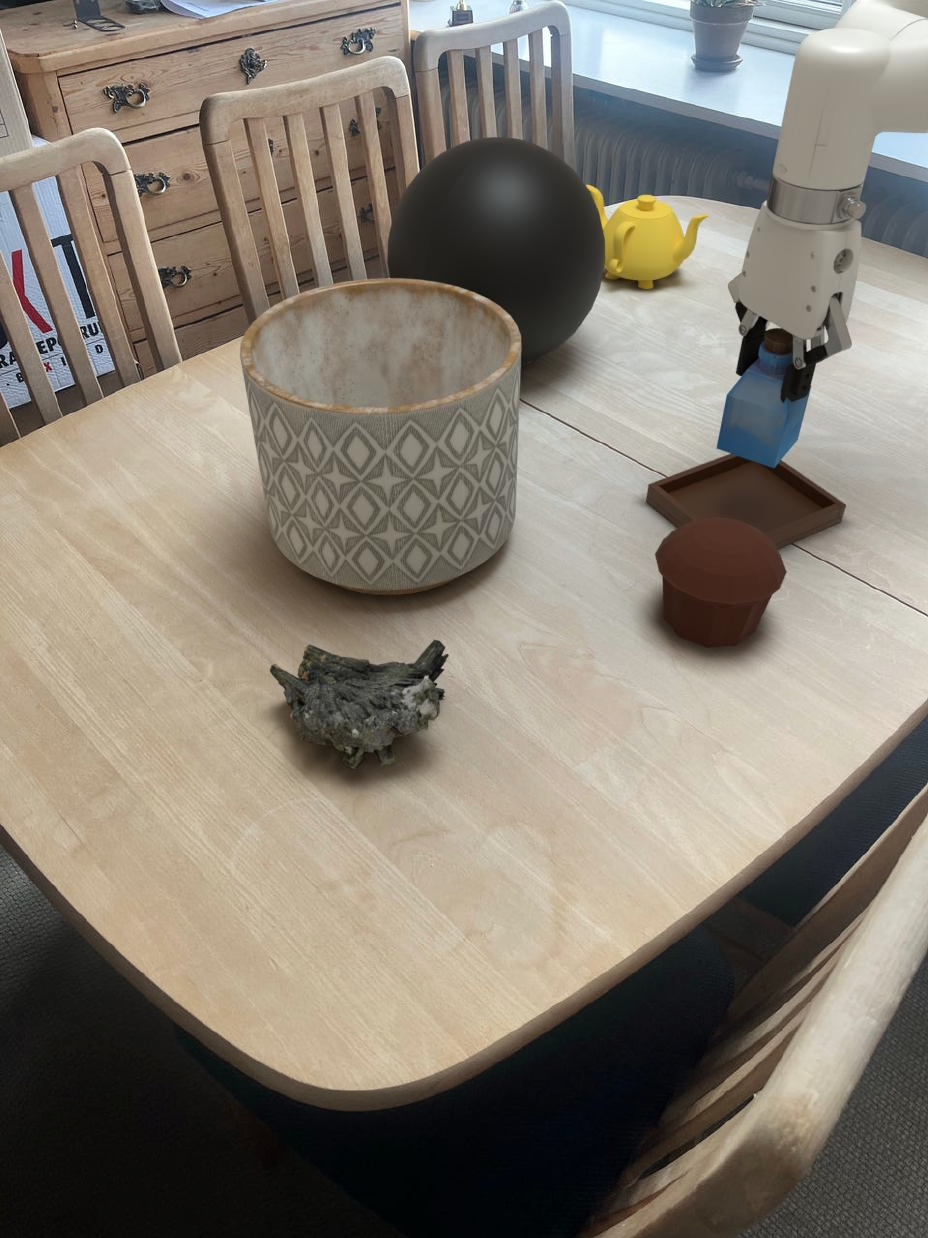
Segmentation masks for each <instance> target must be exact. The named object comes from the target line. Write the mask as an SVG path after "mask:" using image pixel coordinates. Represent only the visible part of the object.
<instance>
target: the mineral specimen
mask: <svg viewBox="0 0 928 1238" xmlns="http://www.w3.org/2000/svg"><path fill="white" fill-rule="evenodd" d="M445 649H446V645H444V644H443V643H442V642H441V641H440V640H438V639H433V640H432V641H431V642H430V644H429V645H428V646H427V647H426V648H425V649H424V650H423V652H422V653H421V654H420V655H419V657H418V658H417V659H416V660H415V661H414V663H413V662H409V663H405V662H399V661H390V662H385V663H379V664H374V663H370V660H369V659H366V658H365V659H364V658H362V659H361V658H355V657H349V656H341V655H340V654H334V653H331V652H329V651H326V650H324V649H322V648H320V647H317V646H315V645H314V644H313V645H312V644H311V643H309V644H308V645H307V646H306V647H305V648H304V652H303V656H302V661H301V663H299V666H298V669H297V676H298V677H297V676H295V675H294V674H292V673H290V672H289V671H286V670H285V669H282V667H280V666H278V665H277V664H276V663H273V664H271V665H270V668H269V673H270V674H271V675H272V677H273V678H274V679H275V680H276V681H277V682H278V685H279V686H281V687H282V688H283V689H284V690H283V695H284V697H285V700H286V701H285V702H286V704H287V706H288V708H290V709H291V710H292V711H291V713H290V716H289V718H291V719H293V720H294V722H295V731H297V733H298V736H299V737H298V738H299V740H300V741H302V742H304V743H307V744H310V743H311V742H313V743H315V744H317V745H322V746H327V747H328V746H334V748H335V749H336V750H337V751H338V752H344V753H345V755H344V756H343V758H342V762H343V764H344V765H345V766H346V767H349V768H351V769H353V770H356V769H357V767H358V766H359V765H360V762H363V761H364V760H365V759H366V755H368V754H369V753H373V754H374V756H375V757H376V761H377V763H378V764H379V765H380V766H386V765H390V764H394V762H395V760H396V758H395V755H394V752H393V745H392V743H393V740H394V738H397V737H404V738H407V737H408V735H409V734H414V733H418V732H420V731H421V730H428V729H429V721H433V722H435V719H436V718H438V717H439V716H440V714H441V708H440V707H441V704H440V701H444V700H445V697H446V696H445V692H446V691H445V689H444V688H440V687H437V686H438V683H437V682H436V680H437V679H438V678H439V677H440V676H441V675H442V674H443V672H444V671H445V670H446V669H445V668H442V667H443V666H444V665H445V663H446V662H447V660H448V658H449V656H450V655H449V653H445V654H444V651H445ZM443 654H444V655H443Z"/></svg>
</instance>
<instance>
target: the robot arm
mask: <svg viewBox="0 0 928 1238" xmlns="http://www.w3.org/2000/svg"><path fill="white" fill-rule="evenodd" d="M789 80H790V81H789V86H788V91H787V96H786V101H785V104H784V105H785V106H784V111H783V117H782V120H781V127H780V131H779V138H778V141H777V147H776V152H775V157H774V163H773V168H772V173H771V178H770V182H769V187H768V193H767V198H766V200H765V201H763V202H762V204H761V206H760V209H759V210H758V211H759V212H758V213H757V217H756V220H755V222H754V224H753V228H752V229H751V230H752V231H751V233H750V237H749V239H748V244H747V247H746V251H745V254H744V259H743V262H742V267H741V272H740V273H739V274H737V275H736V276H735V277H734V278H732V280H730V281H729V283H728V284H727V289H728V291H729V295H730V296H731V298H732V301H733V303H734V305H735V306H734V309H735V312H736V315H737V317H738V318H737V319H738V320H739V326H738V333H739V335H740V336H741V343H740V348H739V354H738V359H737V364H736V369H735V374H736V375H737V376H739V377H742V375H743V374H744V373H745V372H746V371H747V369H748V368H749V367H750V366H751V365H752V364H753V363H754V362H755V361H756V360H757V359H758V358H759V350H760V345H761V343H762V342H764V341H765V336H764V334H765V332H766V331H767V330H768V328H769V326H770V324H771V323H772V324H773V325H775V326H777V327H778V328H782V329H784V330H786V331H787V332H789V333H791V334H793V363H792V364H789V365H788V366H787V367H786V371H785V375H784V380H783V384H782V388H781V396H780V399H781V401H782V402H783V403H784V401H785V400H786V398H788V399H789V400H790V401H791V402H794V401H796V400H799V399H802V398H805V397H806V396H807V395H808V392H809V390H810V386H811V387H812V382H813V379H814V378H813V377H814V374H815V370H816V367H817V364H818V363H821V362H824V360H826V359H829V358H831V357H832V356H835V355H837V354H840V353H842V352H844V351H847V350H849V349H851V348H852V345H853V344H852V343H853V342H852V338H851V336H850V332H849V328H848V325H847V322H848V320H849V316H850V312H851V308H852V303H853V298H854V294H855V289H856V284H857V278H858V272H859V266H860V257H861V250H862V249H861V248H862V223H861V222H860V221H859V220H860V219H861V218H862V217H863V216H864V215H865V213H866V210H867V203H865V202H863V201H861V195H862V191H863V188H864V184H865V180H866V177H867V176H866V175H867V172H868V168H869V162H870V160H871V156H872V152H873V147H874V145H875V140H876V137H877V136H878V135H879V134H880V133H881V134H882V133H902V134H903V133H904V134H905V133H906V134H928V0H855V1H854V2H853V4H851V5H850V7H849V8H848V9H847V10H846V11H845V12H844V14H843V15H842V16H841V18H840V19H839V20H838V22H837V23H836V25H835V26H834V27H832V28H825V29H821V30H817V31H814V32H812V33H810V34H809V35H807V36H806V37H805V38H803V40H802V41H801V42H800V43H799V45H798V48H797V50H796V52H795V56H794V61H793V65H792V70H791V76H790V79H789ZM825 331H826V335H827V341H826V342H825ZM807 340H810V349H809V350H808V341H807ZM810 391H811V390H810Z"/></svg>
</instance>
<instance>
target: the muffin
mask: <svg viewBox="0 0 928 1238" xmlns="http://www.w3.org/2000/svg"><path fill="white" fill-rule="evenodd" d="M654 556H655V557H654V558H655V561H656V565H657V569H658V573H659V574H660V575H661V577H662V579H661V580H662V606H663V620H664V621H665V622H666V623H667V624H668V625H669V626H670V627H671V628H672V629H673V630H674V632H675V633H676V635H677V636H678V638H681V639H684V640H687V641H689V642H694V643H696V644H698V645H700V646H703V647H705V648H716V647H732V646H733V647H736V646H737V645H739V644H740V643H741V642H742V641H743V640H744V639H745V638H747V637H749V636H751V635H752V634H754V633H755V632H756V630H757V628H758V627H759V624H760V621H761V619H762V617H763V616H764V613H765V612H766V609H767V607H768V605H769V604H770V601H771V598H772V596H773V595H774V594H775V593H777V592H778V591H779V590H780V589H781V587H782V585H783V582H784V580H785V577H786V575H787V572H788V571H787V569H786V566H785V564H784V561H783V558H782V555H781V554H780V552H779V549H777V547H776V545H775V544H774V543H773V541H772V540H771V539H769V538H768V537H767V536H766V535H765V534H763V533H762V532H761V531H760V530H758V529H757V528H755V527H753V526H751V525H748V524H746V523H743V522H741V521H738V520H734V519H726V518H719V517H714V518H706V519H698V520H693V521H691V522H689V523H687V524H685V525H683V526H681V527H679V528H678V527H677V528H676V529H674V530H672V531H671V532H670V533H669V534H668V535H667V536H666V537H664V538H663V539H662V541H661V542H660V544H659V545H658V548H657V549H656V551H655V553H654Z"/></svg>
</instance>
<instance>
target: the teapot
mask: <svg viewBox="0 0 928 1238" xmlns="http://www.w3.org/2000/svg"><path fill="white" fill-rule="evenodd" d="M585 186H586V187H587V188H588V190H589V191H590V193H591V195H592V197H593V199H594V202H595V204H596V206H597V208H598V211H599V214H600V219H601V223H602V228H603V233H604V237H605V266H604V269H605V270H606V271H607V272H606V273H605V276H604V277H605V278H606V279H608V280H619V279H620V278H622V279H626V280H632V281H637V287H638V288H640V289H643V290H650V289H653V288H654V280H659V279H664V278H666V277H669V276H670V275H672V273H674V272H675V271H676V270H677V269H678V268H679V267H681V265H683V262H684V261H685V260H687V259H688V258H689V257H690V256H691V255H692V253H693V252H694V250H695V248H696V245H697V238H698V230H699V227H700V225H701V223H702V222H703V221H704V220H706V219H707V218H708V217H710V214H697V215H695V216H693V217H692V218H691V219H690V220H689V222H688V225H687V228H686V231H685V234H684V230H683V228H682V225H681V223H680V221H679V219H678V217H677V215H676V213H675V211H674V209H673V208H672V206H670V205H669V204H668V203H665V202H664V201H660V200H657V197H656V196H655V195H651V194H641V195H639V196H638V197H637V198H636V199H631V200H627V201H624V202H623V203H621V204H620V205H619V206H618V207H617V209H615V211H614V212H613V214H611V216H610V217H609V218H608V217H607V215H606V212H605V202H604V196H603V194H602V193H601V191H600V190H599V189H598V188H596V187H594V186H592V185H590V184H585Z"/></svg>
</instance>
